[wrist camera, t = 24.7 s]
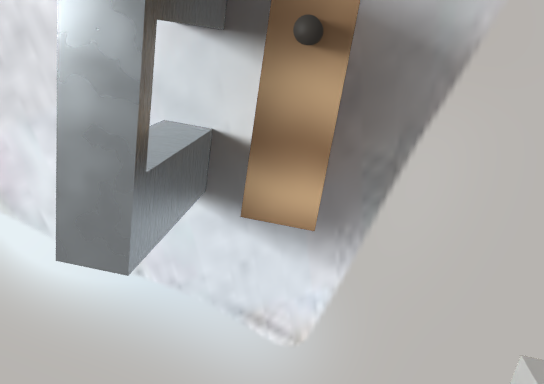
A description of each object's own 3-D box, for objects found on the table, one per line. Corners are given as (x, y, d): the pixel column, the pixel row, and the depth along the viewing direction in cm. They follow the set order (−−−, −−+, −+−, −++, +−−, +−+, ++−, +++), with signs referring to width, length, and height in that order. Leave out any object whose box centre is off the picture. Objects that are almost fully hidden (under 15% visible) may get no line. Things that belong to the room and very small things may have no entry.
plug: (291, 1, 33) (268, -22, 22) (354, 11, 33) (362, -8, 22) (264, 173, 37) (233, 229, 26) (320, 184, 37) (312, 244, 26)
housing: (153, 181, 39) (46, 258, 25) (171, -58, 33) (46, -136, 19) (205, 191, 38) (128, 275, 24) (232, -49, 33) (152, -121, 19)
